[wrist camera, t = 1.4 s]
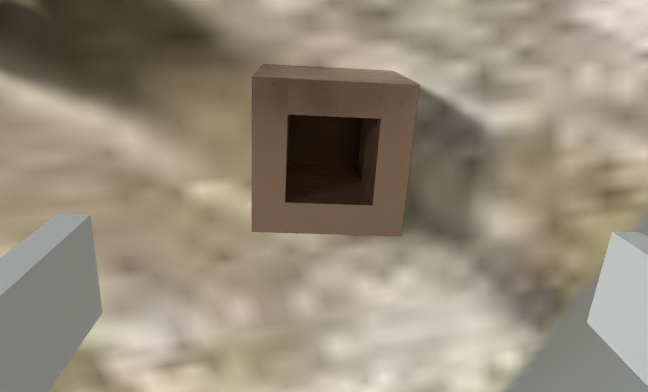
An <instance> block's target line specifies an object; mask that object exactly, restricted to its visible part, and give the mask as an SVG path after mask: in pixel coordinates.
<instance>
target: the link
mask: <svg viewBox="0 0 648 392" xmlns="http://www.w3.org/2000/svg"><path fill="white" fill-rule="evenodd" d="M419 86H420V85H419V84H417V83H415V82H413V81H411V80H409V79H408V78H406V77H404V76H402V75H400V74H398V73H396V72H394V71H384V70H365V69H346V68H326V67H307V66H288V65H268V64H263V65H262V66H261V67H260V68H259V69H258V70H257V71H256V73H255V74H254V75H253V76H252V232H277V233H310V234H344V235H378V236H401V235H402V226H403V218H404V210H405V202H406V193H407V185H408V177H409V169H410V160H411V152H412V144H413V136H414V127H415V119H416V111H417V103H418V94H419ZM290 115H309V116H331V117H353V118H362V121H361V134H360V146H359V158H358V168H354V167H328V166H302V165H288V157H289V123H290Z"/></svg>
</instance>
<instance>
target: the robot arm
mask: <svg viewBox="0 0 648 392" xmlns="http://www.w3.org/2000/svg"><path fill="white" fill-rule="evenodd" d="M101 314H102V306H101V298H100V290H99V281H98V273H97V265H96V256H95V248H94V240H93V231H92V223H91V215H81V214H57V215H56V216H54V217H53V218H52V219H50V220H49V221H48V222H46V223H45V224H44V225H43V226H41V227H40V228H39V229H37V230H36V231H35V232H33V233H32V234H31V235H30V236H28V237H27V238H26V239H24V240H23V241H22V242H21V243H19V244H18V245H17V246H15V247H14V248H13V249H11V250H10V251H9V252H8V253H6V254H5V255H4V256H2V257H1V258H0V392H48V390H49V389H50V387H51V386H52V384H53V383H54V382H55V380H56V379H57V377H58V376H59V374H60V373H61V371H62V370H63V369H64V367H65V366H66V364H67V363H68V361H69V360H70V358H71V357H72V356H73V354H74V353H75V351H76V350H77V348H78V347H79V346H80V344H81V343H82V341H83V340H84V338H85V337H86V335H87V334H88V333H89V331H90V330H91V328H92V327H93V325H94V324H95V322H96V321H97V320H98V318H99V317H100V315H101ZM587 323H588V324H589V325H590V326H591V328H592V329H593V330H594V331H595V332H596V333H597V334H598V335H599V336H600V337H601V338H602V339H603V340H604V341H605V342H606V343H607V344H608V345H609V346H610V347H611V348H612V349H613V350H614V351H615V352H616V353H617V355H618V356H619V357H620V358H621V359H622V360H623V361H624V362H625V363H626V364H627V365H628V366H629V367H630V368H631V369H632V370H633V371H634V372H635V373H636V374H637V375H638V376H639V377H640V378H641V380H643V382H644V383H645V384H646V385H647V386H648V237H647V236H645V235H644V234H642V233H634V232H612V235H611V239H610V242H609V246H608V249H607V253H606V256H605V260H604V263H603V267H602V270H601V274H600V277H599V281H598V284H597V288H596V292H595V295H594V299H593V302H592V306H591V309H590V313H589V316H588V320H587Z"/></svg>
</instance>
